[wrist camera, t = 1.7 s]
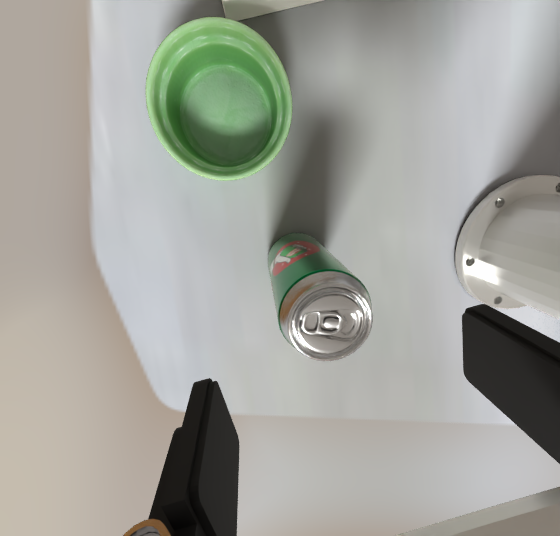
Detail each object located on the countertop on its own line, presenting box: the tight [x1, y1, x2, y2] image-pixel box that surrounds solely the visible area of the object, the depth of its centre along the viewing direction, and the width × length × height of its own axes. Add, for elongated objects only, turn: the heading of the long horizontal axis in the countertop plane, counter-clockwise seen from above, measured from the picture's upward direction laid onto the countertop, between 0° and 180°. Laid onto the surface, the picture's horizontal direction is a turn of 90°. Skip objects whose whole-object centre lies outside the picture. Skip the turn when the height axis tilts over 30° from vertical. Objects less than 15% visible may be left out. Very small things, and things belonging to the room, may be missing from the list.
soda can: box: [268, 233, 373, 361], centre depth 19 cm, size 5×5×12 cm
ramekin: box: [146, 17, 292, 181], centre depth 19 cm, size 9×9×4 cm
